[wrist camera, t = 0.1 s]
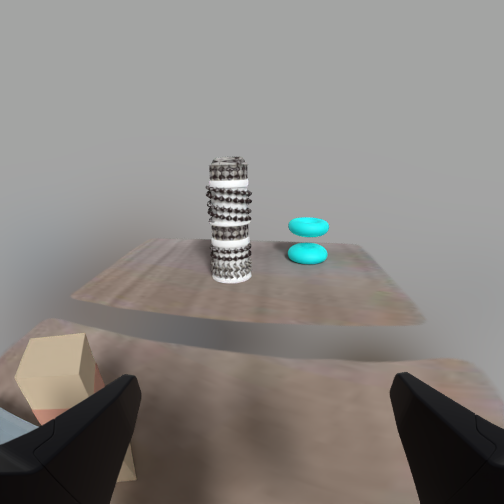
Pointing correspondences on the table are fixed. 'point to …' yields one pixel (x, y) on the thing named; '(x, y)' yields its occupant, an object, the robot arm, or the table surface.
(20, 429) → the tote
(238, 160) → the decorative candle
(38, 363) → the oat carton
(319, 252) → the donuts
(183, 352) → the table surface
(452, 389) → the table surface
